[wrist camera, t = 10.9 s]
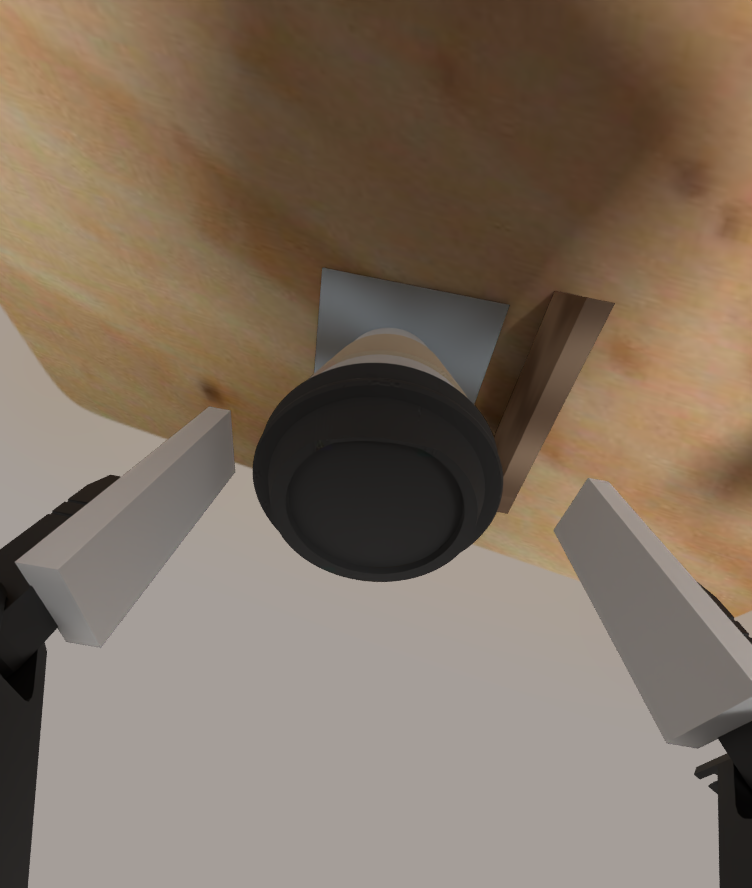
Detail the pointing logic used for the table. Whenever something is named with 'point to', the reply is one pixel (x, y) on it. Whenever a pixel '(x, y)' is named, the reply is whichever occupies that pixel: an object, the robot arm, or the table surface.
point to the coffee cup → (379, 463)
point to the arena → (471, 350)
